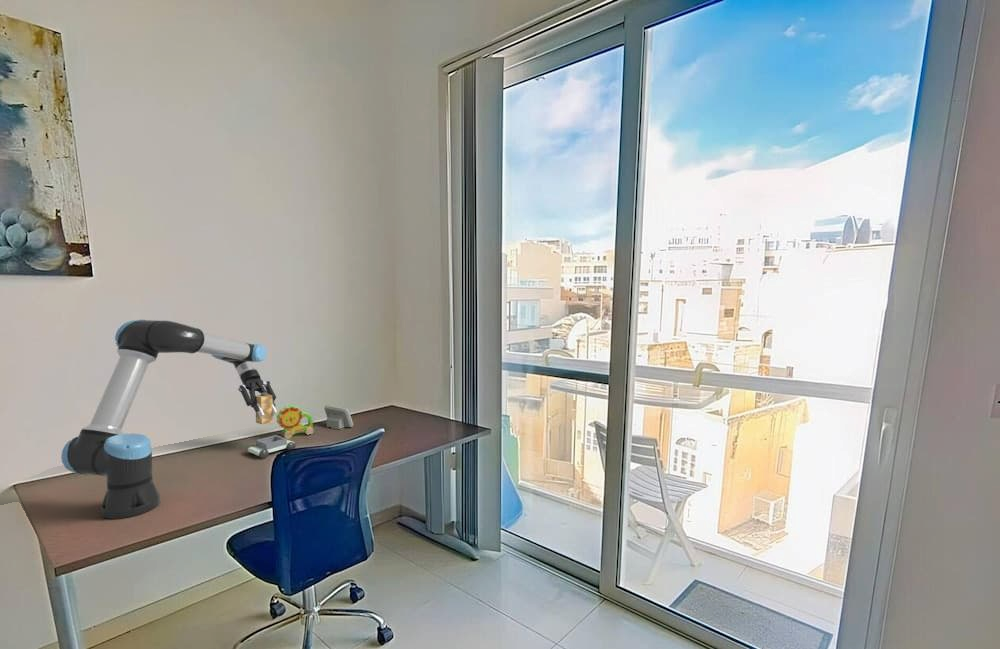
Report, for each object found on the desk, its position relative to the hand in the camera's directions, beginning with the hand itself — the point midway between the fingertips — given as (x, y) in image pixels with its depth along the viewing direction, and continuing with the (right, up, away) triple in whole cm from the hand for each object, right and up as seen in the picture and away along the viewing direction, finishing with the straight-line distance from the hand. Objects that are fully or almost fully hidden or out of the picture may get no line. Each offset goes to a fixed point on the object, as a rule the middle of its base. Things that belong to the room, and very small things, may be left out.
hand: (268, 415), depth 207 cm
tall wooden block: (-3, -4, +2) cm, 5 cm away
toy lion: (+3, -14, +21) cm, 25 cm away
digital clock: (+18, -13, +37) cm, 43 cm away
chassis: (+2, -16, -1) cm, 16 cm away
